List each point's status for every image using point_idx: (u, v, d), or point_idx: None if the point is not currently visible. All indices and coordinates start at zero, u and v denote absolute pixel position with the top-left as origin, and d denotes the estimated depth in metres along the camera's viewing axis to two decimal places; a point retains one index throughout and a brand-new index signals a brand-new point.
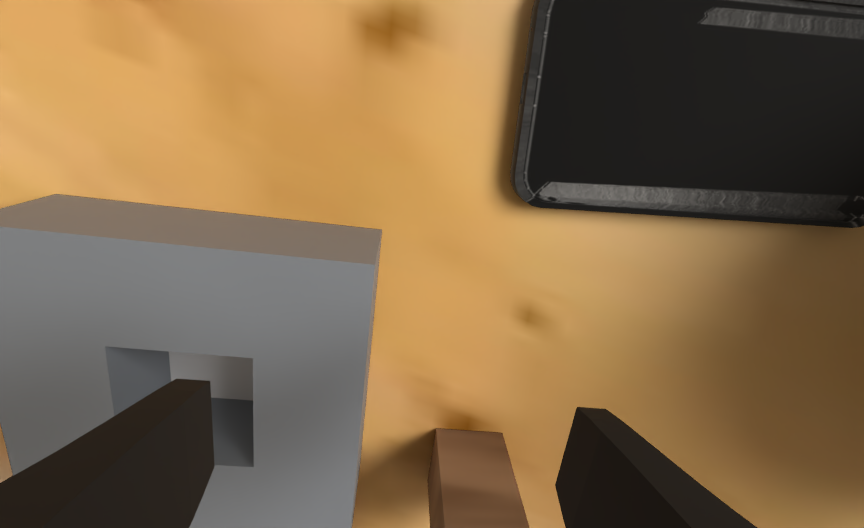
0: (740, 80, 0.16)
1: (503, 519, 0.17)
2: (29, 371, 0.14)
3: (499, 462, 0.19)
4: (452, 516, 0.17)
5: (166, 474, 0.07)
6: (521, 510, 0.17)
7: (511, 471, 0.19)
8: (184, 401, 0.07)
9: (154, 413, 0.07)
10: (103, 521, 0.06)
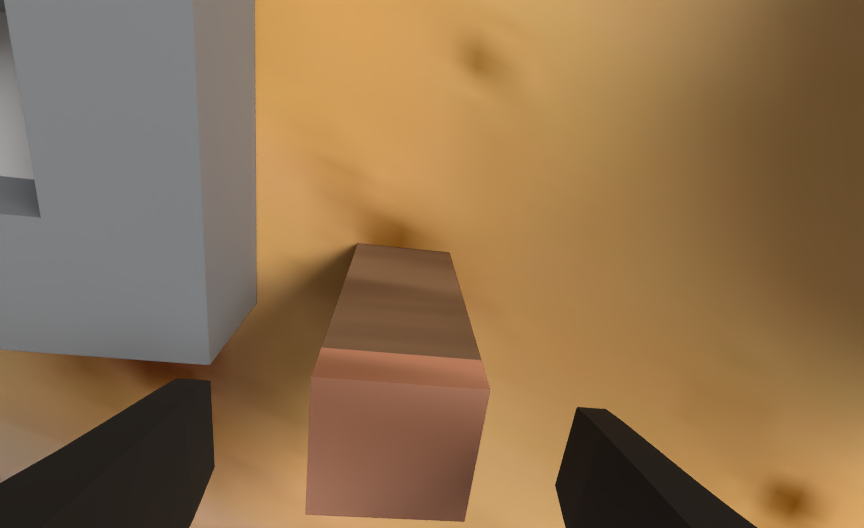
0: None
1: (430, 308, 0.11)
2: None
3: (439, 270, 0.14)
4: (351, 300, 0.11)
5: (166, 474, 0.07)
6: (460, 303, 0.11)
7: (454, 276, 0.13)
8: (184, 401, 0.07)
9: (154, 413, 0.07)
10: (103, 521, 0.06)
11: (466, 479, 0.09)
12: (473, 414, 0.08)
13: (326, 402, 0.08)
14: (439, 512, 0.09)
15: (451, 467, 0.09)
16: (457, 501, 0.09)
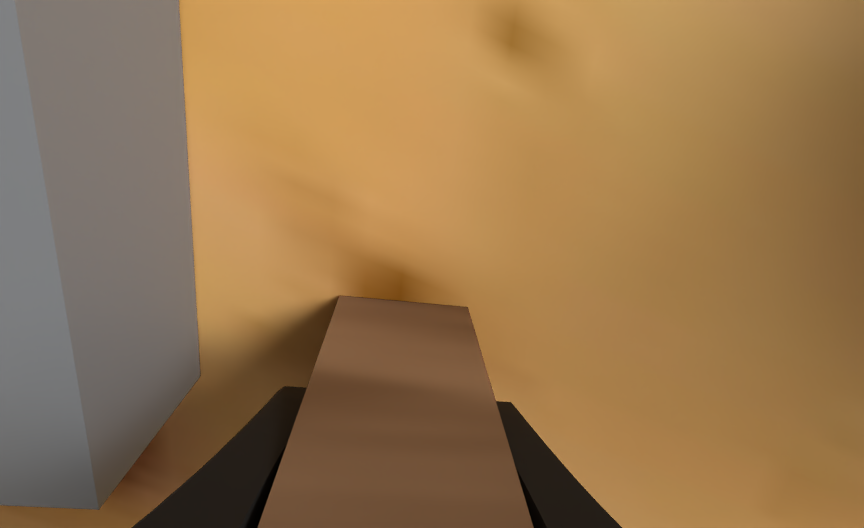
0: None
1: (447, 437, 0.07)
2: None
3: (455, 343, 0.09)
4: (315, 428, 0.06)
5: None
6: (494, 421, 0.07)
7: (479, 357, 0.09)
8: None
9: (283, 421, 0.07)
10: None
11: None
12: None
13: None
14: None
15: None
16: None
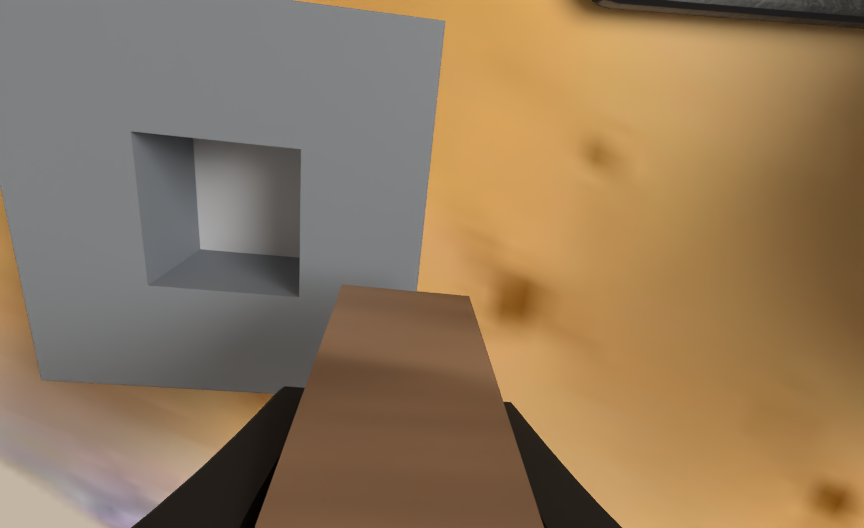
0: None
1: (450, 416, 0.07)
2: (43, 165, 0.12)
3: (457, 330, 0.09)
4: (320, 407, 0.07)
5: None
6: (496, 402, 0.07)
7: (480, 342, 0.09)
8: None
9: (283, 421, 0.07)
10: None
11: None
12: None
13: None
14: None
15: None
16: None
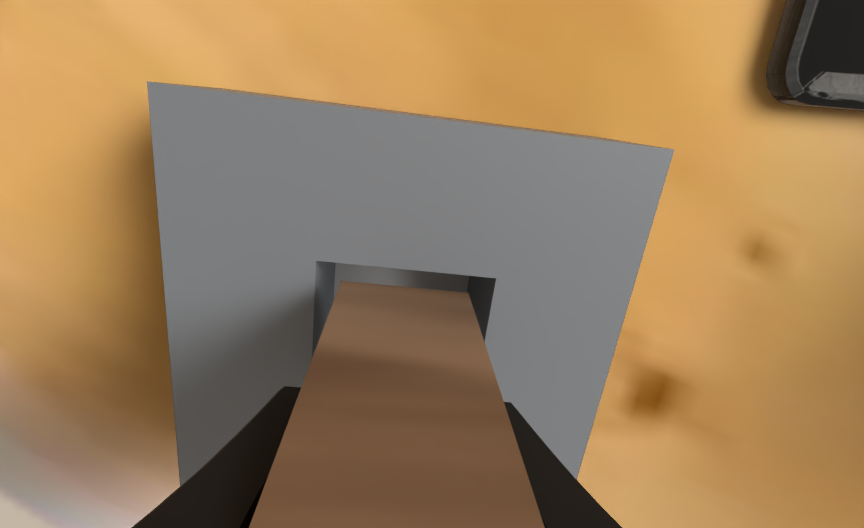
0: None
1: (448, 411, 0.07)
2: (216, 294, 0.11)
3: (456, 325, 0.09)
4: (318, 401, 0.07)
5: None
6: (495, 397, 0.07)
7: (480, 338, 0.09)
8: None
9: (283, 421, 0.07)
10: None
11: None
12: None
13: None
14: None
15: None
16: None
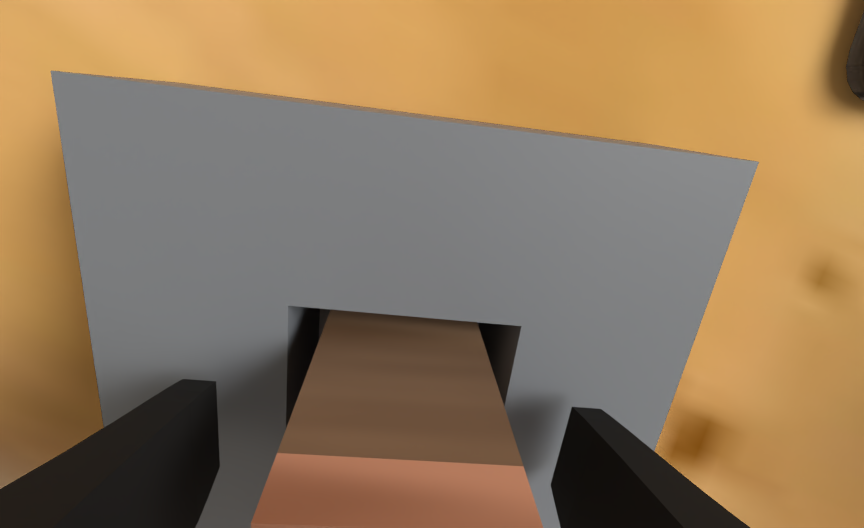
0: None
1: (442, 366, 0.08)
2: (160, 348, 0.09)
3: None
4: (331, 357, 0.08)
5: (173, 474, 0.07)
6: (482, 356, 0.08)
7: None
8: (190, 401, 0.07)
9: (161, 413, 0.07)
10: (112, 521, 0.06)
11: None
12: None
13: None
14: None
15: None
16: None
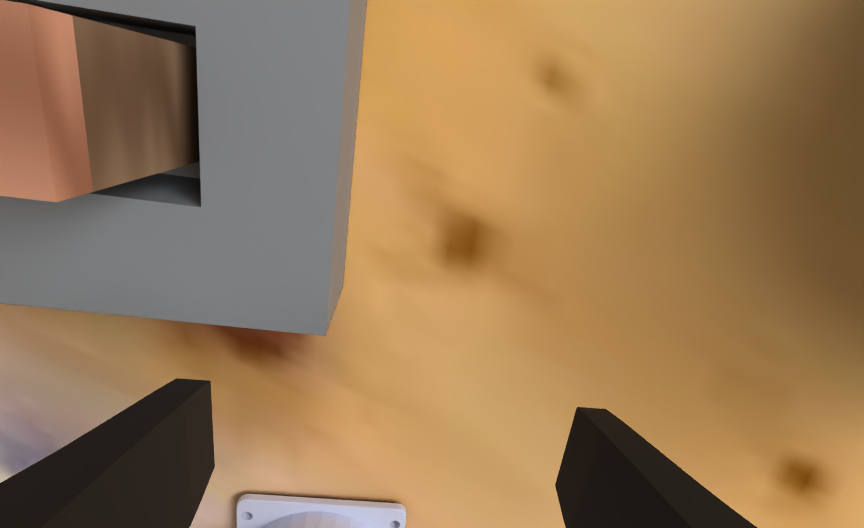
0: None
1: None
2: None
3: None
4: None
5: (166, 474, 0.07)
6: None
7: (188, 46, 0.12)
8: (184, 401, 0.07)
9: (154, 413, 0.07)
10: (103, 521, 0.06)
11: (40, 139, 0.08)
12: (18, 40, 0.07)
13: None
14: (23, 188, 0.08)
15: (15, 119, 0.08)
16: (39, 170, 0.08)
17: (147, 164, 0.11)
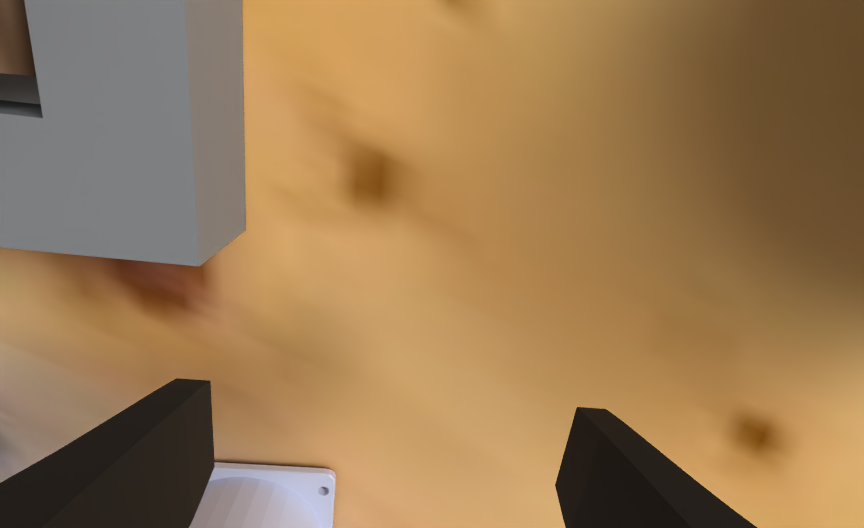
0: None
1: None
2: None
3: None
4: None
5: (166, 474, 0.07)
6: None
7: None
8: (184, 401, 0.07)
9: (154, 413, 0.07)
10: (103, 521, 0.06)
11: None
12: None
13: None
14: None
15: None
16: None
17: None
